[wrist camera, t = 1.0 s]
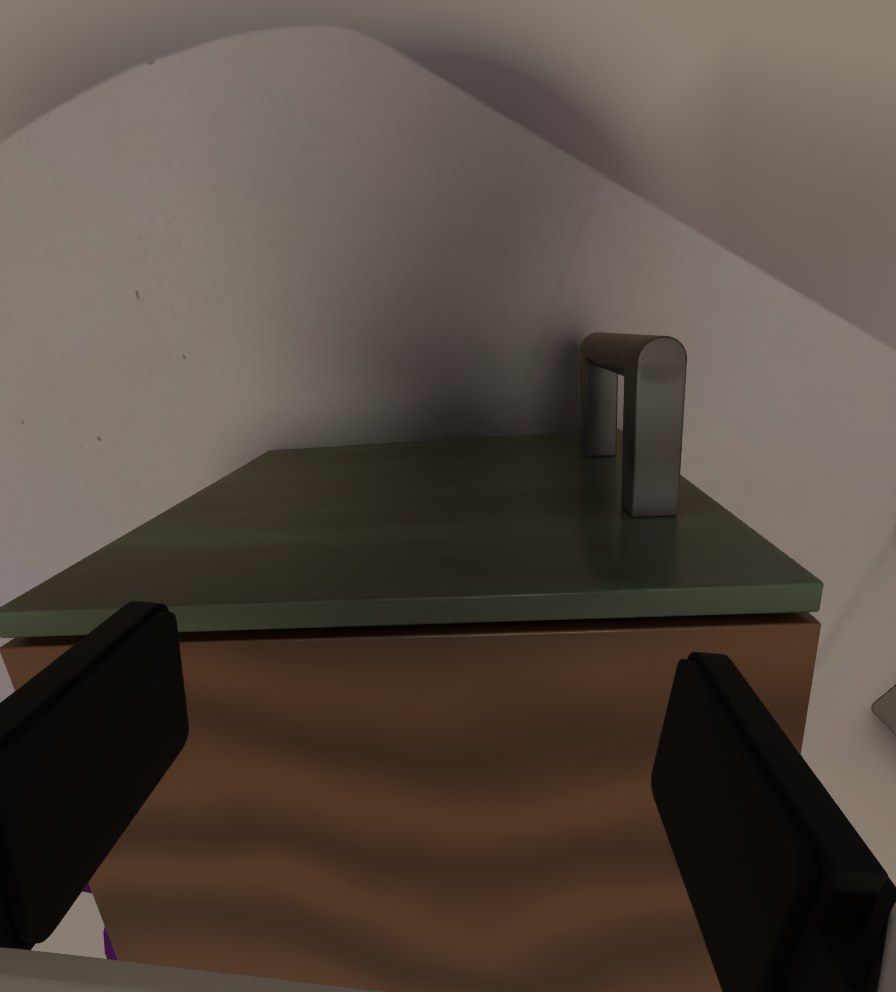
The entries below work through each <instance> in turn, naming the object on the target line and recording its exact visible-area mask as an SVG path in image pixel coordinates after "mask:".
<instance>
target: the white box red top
mask: <svg viewBox="0 0 896 992" xmlns="http://www.w3.org/2000/svg"><path fill="white" fill-rule="evenodd" d="M872 710H873V712H874V713H875V714H876V715H877V716H878V717H879V718H880V719H881V720H882V721H883V722H884V723H885V724H886V725H887V726H888V727H889V728H890V729H891V730H892V731H893V732H894V733H895V734H896V686H895V687H894V688H892V689H891V690H890V691H889V692H888V693H886V694H885V695H884V696H883V697H882V698H880V699H879V700H878V701H877V702H876V703H875V704H874V705H873V707H872Z"/></svg>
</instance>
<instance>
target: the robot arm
mask: <svg viewBox="0 0 896 992" xmlns="http://www.w3.org/2000/svg"><path fill="white" fill-rule="evenodd" d="M188 733H189V722H188V714H187V705H186V696H185V688H184V679H183V670H182V662H181V653H180V644H179V636H178V627H177V619H176V616H175V614H174V613H172V612H169V609H168V608H167V606H166V605H165V604H163V603H152V602H141V601H130V602H129V603H127V604H125V605H124V606H123V607H122V608H120V609H119V610H118V611H117V612H115V613H114V614H113V615H111V616H110V617H109V618H108V619H106V620H105V621H104V622H103V623H101V624H100V625H99V626H97V627H96V628H95V629H94V630H92V631H91V632H90V633H89V634H87V635H86V636H85V637H83V638H82V639H81V640H80V641H78V642H77V643H76V644H75V645H73V646H72V647H71V648H70V649H68V650H67V651H66V652H64V653H63V654H62V655H61V656H59V657H58V658H57V659H56V660H54V661H53V662H52V663H50V664H49V665H48V666H47V667H45V668H44V669H43V670H42V671H40V672H39V673H38V674H36V675H35V676H34V677H33V678H31V679H30V680H29V681H28V682H26V683H25V684H24V685H23V686H21V687H20V688H19V689H17V690H16V691H15V692H14V693H12V694H11V695H10V696H9V697H7V698H6V699H5V700H3V701H2V702H1V703H0V992H381V991H373V990H365V989H356V988H348V987H340V986H332V985H324V984H315V983H307V982H299V981H290V980H282V979H274V978H265V977H257V976H248V975H240V974H232V973H223V972H215V971H206V970H198V969H189V968H180V967H172V966H163V965H154V964H145V963H137V962H128V961H119V960H110V959H102V958H93V957H84V956H75V955H67V954H58V953H48V952H40V951H32V950H31V949H32V948H33V946H34V945H35V944H36V943H41V942H43V941H45V940H46V939H47V938H48V937H49V936H50V935H51V934H52V932H53V931H54V930H55V929H56V927H57V926H58V925H59V923H60V921H61V920H62V919H63V917H64V916H65V915H66V913H67V912H68V910H69V909H70V907H71V906H72V905H73V903H74V902H75V900H76V899H77V897H78V896H79V895H80V893H81V892H82V891H83V889H84V888H85V886H86V885H87V883H88V882H89V881H90V879H91V878H92V876H93V875H94V874H95V872H96V871H97V869H98V868H99V867H100V865H101V864H102V862H103V861H104V859H105V858H106V857H107V855H108V854H109V852H110V851H111V850H112V848H113V847H114V845H115V844H116V842H117V841H118V840H119V838H120V837H121V835H122V834H123V833H124V831H125V830H126V828H127V827H128V826H129V824H130V823H131V821H132V820H133V818H134V817H135V816H136V814H137V813H138V811H139V810H140V809H141V807H142V806H143V804H144V803H145V801H146V800H147V799H148V797H149V796H150V794H151V793H152V792H153V790H154V789H155V787H156V786H157V784H158V783H159V782H160V780H161V779H162V777H163V776H164V775H165V773H166V772H167V770H168V769H169V768H170V766H171V765H172V763H173V762H174V760H175V759H176V758H177V756H178V755H179V753H180V752H181V751H182V749H183V747H184V746H185V743H186V741H187V738H188ZM651 788H652V794H653V798H654V801H655V803H656V806H657V809H658V812H659V815H660V817H661V820H662V823H663V826H664V829H665V832H666V834H667V837H668V840H669V843H670V846H671V849H672V851H673V854H674V857H675V860H676V863H677V865H678V868H679V871H680V874H681V877H682V880H683V882H684V885H685V888H686V891H687V894H688V896H689V899H690V902H691V905H692V908H693V911H694V913H695V916H696V919H697V922H698V925H699V928H700V930H701V933H702V936H703V939H704V942H705V944H706V947H707V950H708V953H709V956H710V959H711V961H712V964H713V967H714V970H715V973H716V975H717V978H718V981H719V984H720V987H721V990H722V992H896V887H895V885H894V884H893V883H892V881H891V880H890V878H889V877H888V874H887V873H886V871H885V870H884V869H883V867H882V866H881V864H880V863H879V862H878V860H877V859H876V858H875V856H874V855H873V853H872V852H871V851H870V849H869V848H868V847H867V845H866V844H865V842H864V841H863V840H862V838H861V837H860V836H859V834H858V833H857V832H856V830H855V829H854V827H853V826H852V825H851V823H850V822H849V821H848V819H847V818H846V816H845V815H844V814H843V812H842V811H841V810H840V808H839V807H838V805H837V804H836V803H835V801H834V800H833V799H832V797H831V796H830V794H829V793H828V792H827V790H826V789H825V788H824V786H823V785H822V784H821V782H820V781H819V779H818V778H817V777H816V775H815V774H814V773H813V771H812V770H811V768H810V767H809V766H808V764H807V763H806V762H805V760H804V759H803V757H802V756H801V755H800V753H799V752H798V751H797V749H796V748H795V746H794V745H793V744H792V742H791V741H790V740H789V738H788V737H787V736H786V734H785V733H784V731H783V730H782V729H781V727H780V726H779V725H778V723H777V722H776V720H775V719H774V718H773V716H772V715H771V714H770V712H769V711H768V709H767V708H766V707H765V705H764V704H763V703H762V701H761V700H760V698H759V697H758V696H757V694H756V693H755V692H754V690H753V689H752V688H751V686H750V685H749V683H748V682H747V681H746V679H745V678H744V677H743V675H742V674H741V672H740V671H739V670H738V668H737V667H736V666H735V664H734V663H733V661H732V660H731V659H730V658H729V657H728V656H727V655H724V654H715V653H704V652H691V653H690V654H689V656H688V658H687V659H680V660H679V662H678V664H677V667H676V672H675V676H674V680H673V684H672V689H671V693H670V697H669V701H668V706H667V710H666V714H665V718H664V723H663V727H662V731H661V735H660V740H659V744H658V748H657V752H656V757H655V761H654V765H653V769H652V774H651Z"/></svg>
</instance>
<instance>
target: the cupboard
mask: <svg viewBox="0 0 896 992" xmlns="http://www.w3.org/2000/svg"><path fill="white" fill-rule="evenodd" d="M820 627H821V624H820V622H819V621H818V620H817V619H815V618H814V617H813V616H812V615H811V614H810V613H809V612H790V613H759V614H728V615H697V616H666V617H635V618H604V619H573V620H542V621H511V622H480V623H449V624H417V625H386V626H355V627H324V628H293V629H262V630H231V631H200V632H178V636H179V644H180V653H181V662H182V670H183V679H184V688H185V696H186V705H187V714H188V722H189V733H188V738H187V741H186V743H185V746H184V747H183V749H182V751H181V752H180V753H179V755H178V756H177V758H176V759H175V760H174V762H173V763H172V765H171V766H170V768H169V769H168V770H167V772H166V773H165V775H164V776H163V777H162V779H161V780H160V782H159V783H158V784H157V786H156V787H155V789H154V790H153V792H152V793H151V794H150V796H149V797H148V799H147V800H146V801H145V803H144V804H143V806H142V807H141V809H140V810H139V811H138V813H137V814H136V816H135V817H134V818H133V820H132V821H131V823H130V824H129V826H128V827H127V828H126V830H125V831H124V833H123V834H122V835H121V837H120V838H119V840H118V841H117V842H116V844H115V845H114V847H113V848H112V850H111V851H110V852H109V854H108V855H107V857H106V858H105V859H104V861H103V862H102V864H101V865H100V867H99V868H98V869H97V871H96V872H95V874H94V875H93V876H92V878H91V879H90V881H89V882H88V883H89V886H90V888H91V891H92V894H93V896H94V899H95V902H96V904H97V907H98V909H99V912H100V914H101V917H102V920H103V923H104V925H105V928H106V930H107V933H108V936H109V938H110V941H111V943H112V946H113V949H114V951H115V954H116V957H117V959H118V960H119V961H128V962H137V963H145V964H154V965H163V966H172V967H180V968H189V969H198V970H206V971H215V972H223V973H232V974H240V975H248V976H257V977H265V978H274V979H282V980H290V981H299V982H307V983H315V984H324V985H332V986H340V987H348V988H356V989H365V990H373V991H381V992H722V990H721V987H720V984H719V981H718V978H717V975H716V973H715V970H714V967H713V964H712V961H711V959H710V956H709V953H708V950H707V947H706V944H705V942H704V939H703V936H702V933H701V930H700V928H699V925H698V922H697V919H696V916H695V913H694V911H693V908H692V905H691V902H690V899H689V896H688V894H687V891H686V888H685V885H684V882H683V880H682V877H681V874H680V871H679V868H678V865H677V863H676V860H675V857H674V854H673V851H672V849H671V846H670V843H669V840H668V837H667V834H666V832H665V829H664V826H663V823H662V820H661V817H660V815H659V812H658V809H657V806H656V803H655V801H654V798H653V794H652V788H651V774H652V769H653V765H654V761H655V757H656V752H657V748H658V744H659V740H660V735H661V731H662V727H663V723H664V718H665V714H666V710H667V706H668V701H669V697H670V693H671V689H672V684H673V680H674V676H675V672H676V667H677V664H678V662H679V660H680V659H687V658H688V656H689V654H690V653H691V652H704V653H715V654H724V655H727V656H728V657H729V658H730V659H731V660H732V661H733V663H734V664H735V666H736V667H737V668H738V670H739V671H740V672H741V674H742V675H743V677H744V678H745V679H746V681H747V682H748V683H749V685H750V686H751V688H752V689H753V690H754V692H755V693H756V694H757V696H758V697H759V698H760V700H761V701H762V703H763V704H764V705H765V707H766V708H767V709H768V711H769V712H770V714H771V715H772V716H773V718H774V719H775V720H776V722H777V723H778V725H779V726H780V727H781V729H782V730H783V731H784V733H785V734H786V736H787V737H788V738H789V740H790V741H791V742H792V744H793V745H794V746H795V748H796V749H797V751H798V752H799V753H800V755H801V749H802V742H803V736H804V729H805V723H806V717H807V710H808V704H809V697H810V691H811V685H812V678H813V672H814V665H815V659H816V653H817V646H818V640H819V633H820ZM85 636H86V635H76V636H45V637H15V638H14V639H12V640H11V641H9V642H8V643H6V644H5V645H3V646H2V647H0V653H1V655H2V658H3V660H4V663H5V666H6V668H7V671H8V674H9V676H10V679H11V681H12V684H13V687H14V689H15V691H16V690H17V689H19V688H20V687H21V686H23V685H24V684H25V683H26V682H28V681H29V680H30V679H31V678H33V677H34V676H35V675H36V674H38V673H39V672H40V671H42V670H43V669H44V668H45V667H47V666H48V665H49V664H50V663H52V662H53V661H54V660H56V659H57V658H58V657H59V656H61V655H62V654H63V653H64V652H66V651H67V650H68V649H70V648H71V647H72V646H73V645H75V644H76V643H77V642H78V641H80V640H81V639H82V638H83V637H85Z"/></svg>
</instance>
